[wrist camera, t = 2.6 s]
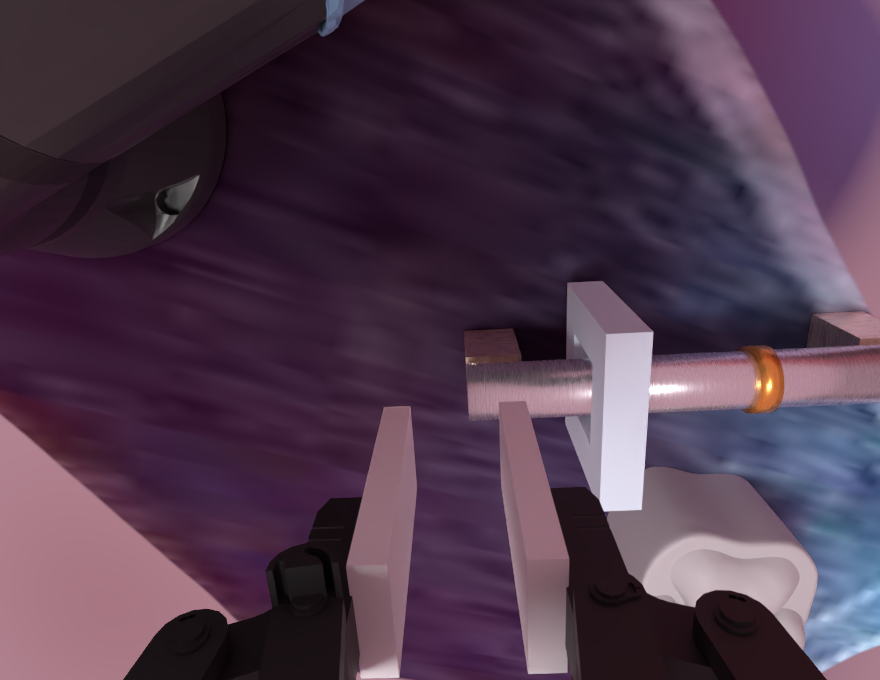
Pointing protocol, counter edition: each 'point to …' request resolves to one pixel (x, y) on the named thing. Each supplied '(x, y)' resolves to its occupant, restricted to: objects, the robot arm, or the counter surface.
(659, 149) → the counter surface
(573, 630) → the robot arm
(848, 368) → the pipe rig
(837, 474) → the counter surface
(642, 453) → the white square holed plate
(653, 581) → the lumpy-topped squat cylinder
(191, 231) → the counter surface
